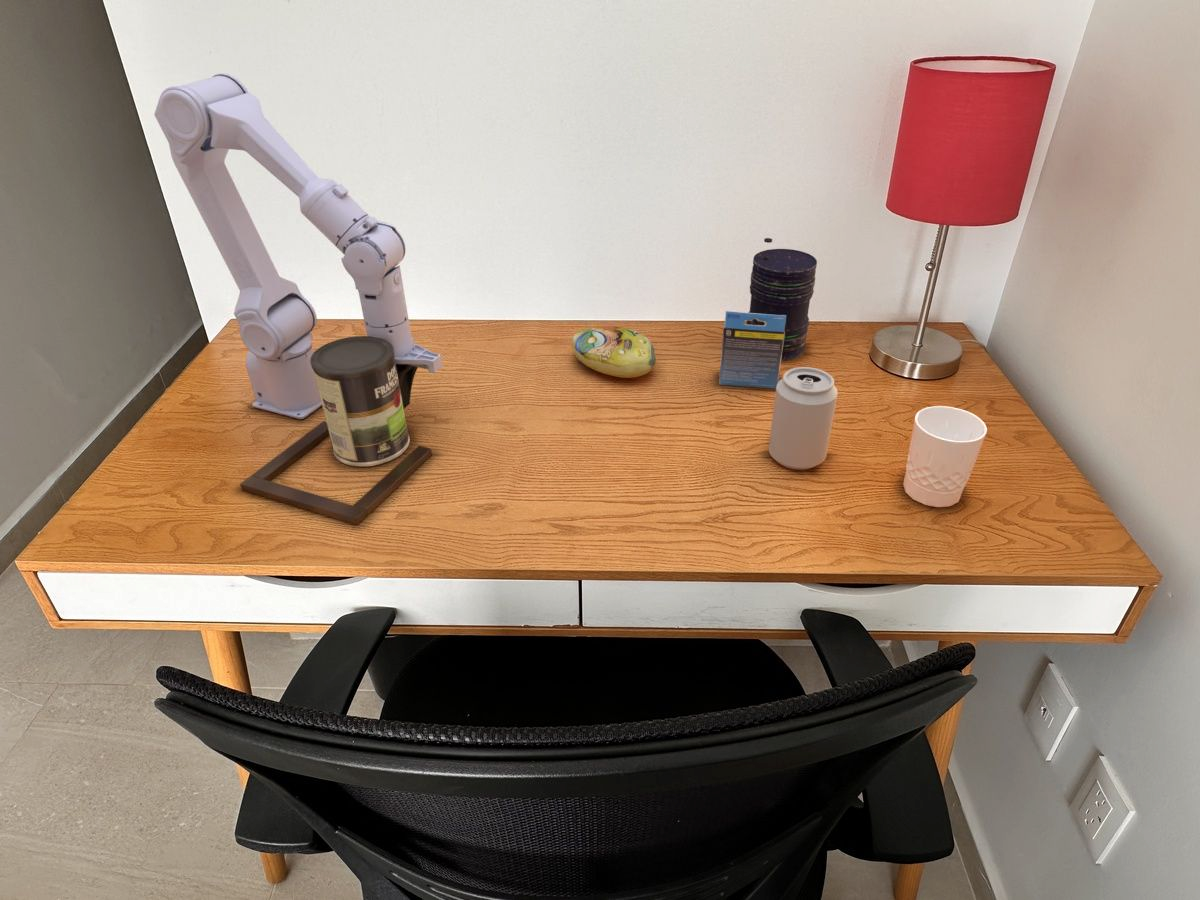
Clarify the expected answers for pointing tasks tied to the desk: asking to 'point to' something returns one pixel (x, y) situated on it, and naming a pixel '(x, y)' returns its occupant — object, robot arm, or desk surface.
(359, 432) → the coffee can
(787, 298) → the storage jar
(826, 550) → the desk surface
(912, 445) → the white cup
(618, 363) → the cell model
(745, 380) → the label tape box
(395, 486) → the walnut frame
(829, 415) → the can
